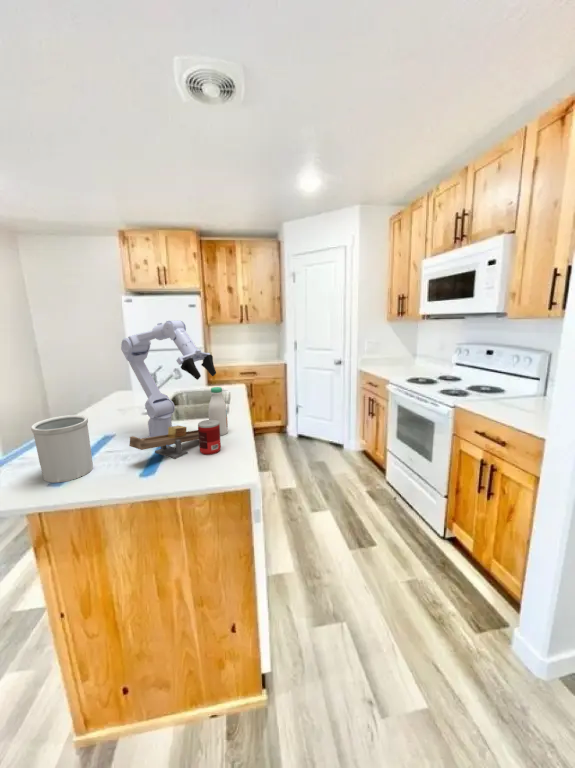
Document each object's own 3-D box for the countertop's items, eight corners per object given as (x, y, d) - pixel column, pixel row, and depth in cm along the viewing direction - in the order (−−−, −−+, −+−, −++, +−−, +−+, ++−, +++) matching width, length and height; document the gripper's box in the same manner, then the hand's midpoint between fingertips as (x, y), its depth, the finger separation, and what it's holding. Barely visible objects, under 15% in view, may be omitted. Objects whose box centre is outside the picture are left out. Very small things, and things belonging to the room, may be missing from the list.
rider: (167, 437, 124) (168, 426, 123) (178, 435, 128) (179, 425, 128) (175, 439, 122) (175, 428, 121) (185, 437, 126) (186, 427, 126)
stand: (155, 452, 124) (153, 438, 123) (168, 447, 129) (167, 433, 128) (174, 459, 118) (173, 443, 117) (188, 453, 123) (186, 438, 122)
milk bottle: (226, 436, 140) (223, 389, 136) (207, 436, 140) (204, 389, 136) (229, 430, 148) (227, 385, 144) (212, 430, 148) (209, 386, 144)
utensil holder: (62, 487, 99) (53, 431, 96) (29, 479, 104) (19, 426, 101) (104, 466, 113) (98, 417, 109) (73, 460, 118) (66, 413, 114)
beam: (129, 446, 112) (129, 436, 112) (200, 434, 139) (200, 426, 139) (141, 450, 109) (142, 440, 108) (212, 437, 136) (212, 429, 136)
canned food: (223, 446, 129) (221, 419, 126) (217, 455, 121) (215, 426, 119) (204, 446, 129) (202, 419, 127) (196, 454, 122) (194, 426, 119)
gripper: (176, 341, 114) (196, 372, 112) (206, 338, 126) (226, 366, 124) (167, 354, 118) (187, 384, 115) (197, 350, 130) (216, 377, 127)
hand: (206, 376), depth 120 cm, fingers open, 7 cm apart
